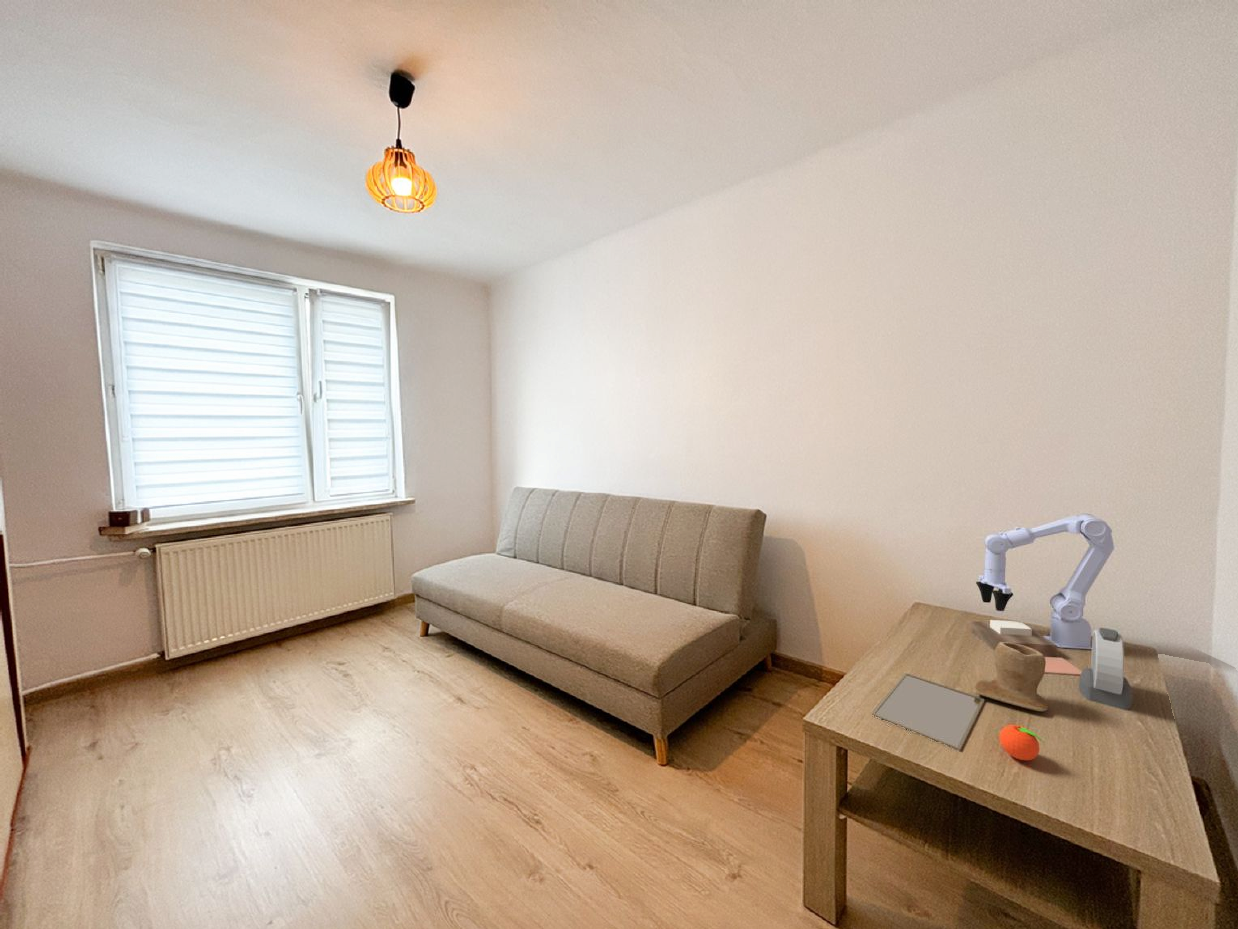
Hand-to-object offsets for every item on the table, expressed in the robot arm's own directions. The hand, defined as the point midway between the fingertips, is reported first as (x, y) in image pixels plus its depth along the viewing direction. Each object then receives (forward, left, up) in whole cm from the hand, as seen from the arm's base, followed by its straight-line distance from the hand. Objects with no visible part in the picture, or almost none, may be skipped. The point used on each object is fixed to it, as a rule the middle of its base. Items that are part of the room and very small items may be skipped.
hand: (993, 606), depth 166 cm
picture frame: (+41, +52, -10) cm, 67 cm away
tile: (-1, +8, -6) cm, 10 cm away
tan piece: (+18, +44, -10) cm, 48 cm away
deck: (-1, +9, -10) cm, 13 cm away
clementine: (+29, +69, -10) cm, 75 cm away
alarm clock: (-8, +38, -10) cm, 40 cm away
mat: (-1, +23, -10) cm, 25 cm away
